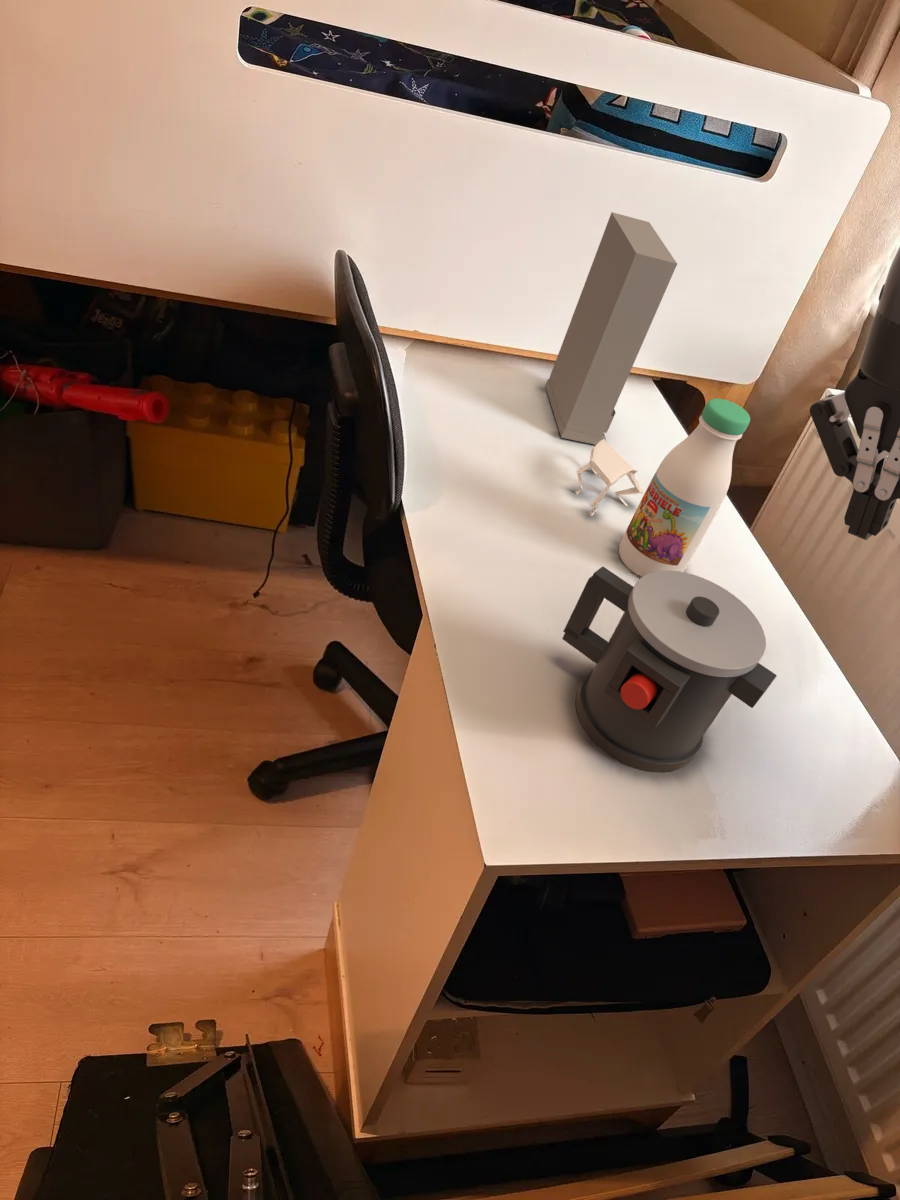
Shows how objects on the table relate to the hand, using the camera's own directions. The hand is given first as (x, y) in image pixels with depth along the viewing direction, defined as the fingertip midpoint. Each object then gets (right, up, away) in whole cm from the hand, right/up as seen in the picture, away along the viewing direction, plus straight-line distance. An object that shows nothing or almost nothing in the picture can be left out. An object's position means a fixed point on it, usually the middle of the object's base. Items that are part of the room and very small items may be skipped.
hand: (861, 532), depth 70 cm
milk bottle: (-10, -1, +31) cm, 33 cm away
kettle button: (-18, -13, +1) cm, 22 cm away
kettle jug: (-16, -16, +11) cm, 25 cm away
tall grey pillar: (-15, +20, +53) cm, 59 cm away
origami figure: (-14, +8, +40) cm, 43 cm away
